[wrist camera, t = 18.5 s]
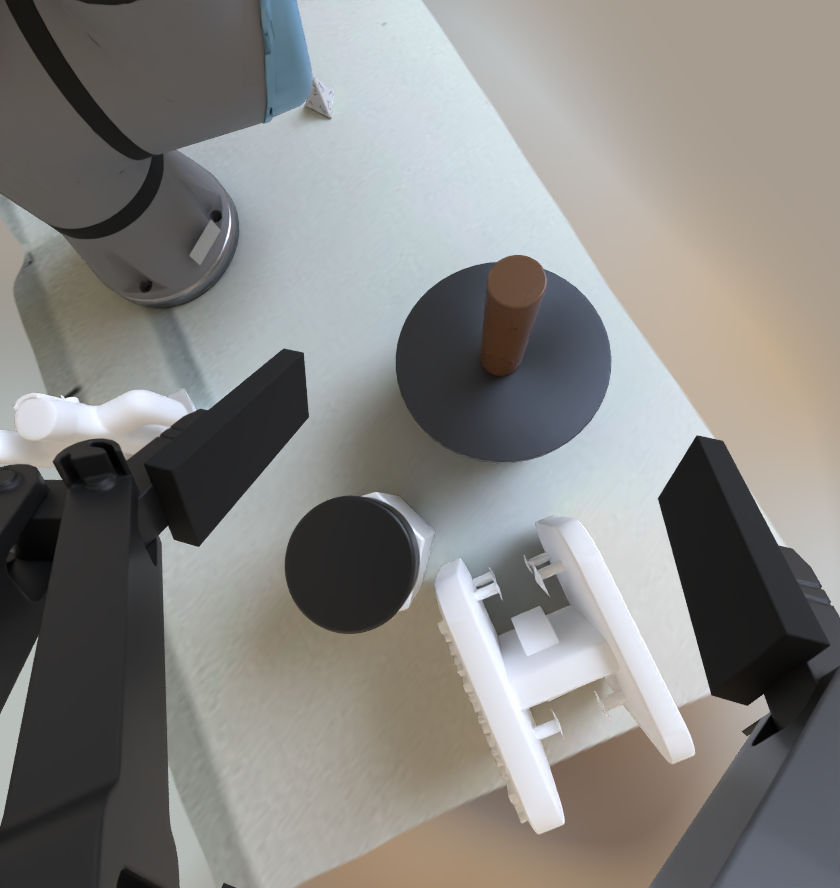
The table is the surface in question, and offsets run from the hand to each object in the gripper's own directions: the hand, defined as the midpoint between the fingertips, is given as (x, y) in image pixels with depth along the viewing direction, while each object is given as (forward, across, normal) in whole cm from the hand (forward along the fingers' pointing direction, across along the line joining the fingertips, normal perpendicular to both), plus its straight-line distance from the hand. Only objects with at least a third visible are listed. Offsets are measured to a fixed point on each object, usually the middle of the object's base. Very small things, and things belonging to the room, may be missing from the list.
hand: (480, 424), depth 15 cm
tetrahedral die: (+41, -24, +8) cm, 48 cm away
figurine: (+14, -27, -19) cm, 36 cm away
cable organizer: (+9, +7, -24) cm, 27 cm away
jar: (+11, -6, -22) cm, 25 cm away
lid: (+15, 0, -5) cm, 16 cm away
